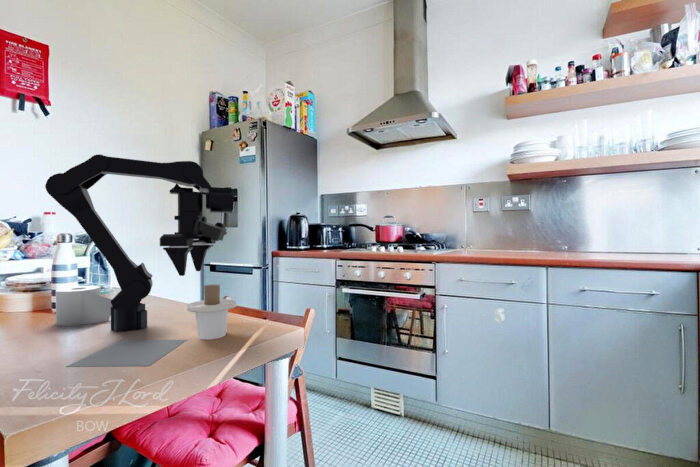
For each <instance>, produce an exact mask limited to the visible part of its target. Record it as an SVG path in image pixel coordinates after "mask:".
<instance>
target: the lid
mask: <svg viewBox="0 0 700 467" xmlns="http://www.w3.org/2000/svg"><path fill="white" fill-rule="evenodd" d="M203 289H204V292H203V296H204V297H203V298H204V299H203V300H197V301H192V302H190V303H188V304H187V306H186V310H187V311H188V312H189V313H195V312H196V313H210V312H219V311H225V310H228V311H229V310H232V309H234V308H236V307H237V301H236V300H234V299H230V298H229V299H227V298H221V284H213V283H212V284H204V286H203Z"/></svg>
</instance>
